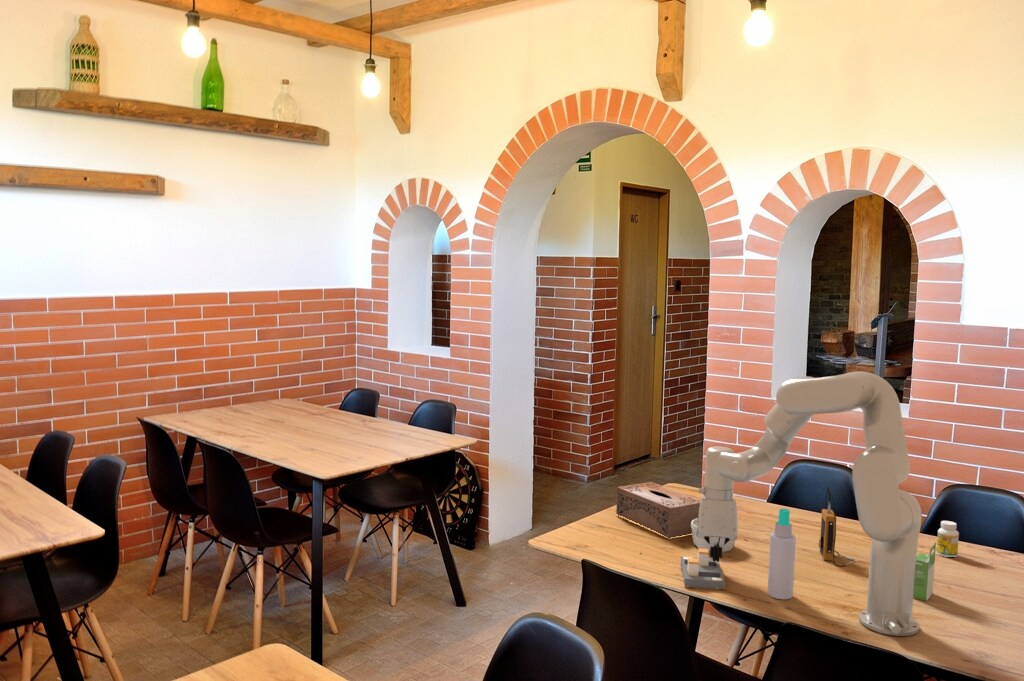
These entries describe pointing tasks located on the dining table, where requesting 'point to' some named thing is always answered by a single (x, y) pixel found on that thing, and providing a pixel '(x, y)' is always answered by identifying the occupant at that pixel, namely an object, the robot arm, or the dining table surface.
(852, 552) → the dining table surface
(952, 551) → the supplement bottle
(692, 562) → the white upright block
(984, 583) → the dining table surface
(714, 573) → the switch board
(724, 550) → the ramekin
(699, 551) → the tab
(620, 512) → the tissue box cover
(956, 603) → the dining table surface
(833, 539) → the multimeter
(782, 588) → the spray bottle
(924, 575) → the ink box
